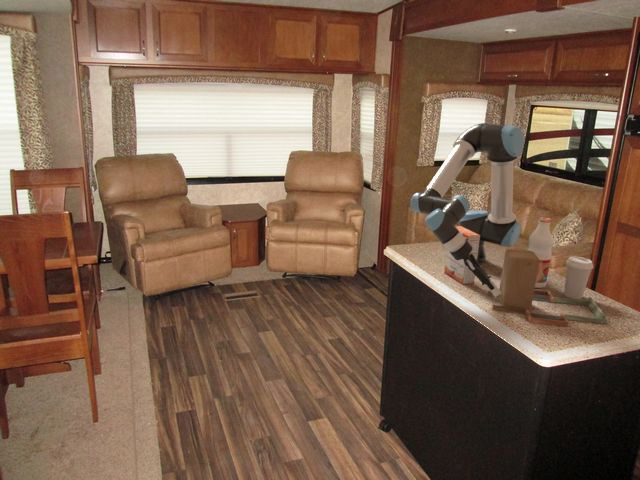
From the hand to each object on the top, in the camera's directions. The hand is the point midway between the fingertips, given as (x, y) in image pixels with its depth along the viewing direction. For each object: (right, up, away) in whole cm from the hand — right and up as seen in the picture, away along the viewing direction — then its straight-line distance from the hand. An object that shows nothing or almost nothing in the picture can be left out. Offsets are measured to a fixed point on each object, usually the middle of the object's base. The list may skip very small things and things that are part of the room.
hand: (498, 294), depth 182 cm
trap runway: (+16, -5, -1) cm, 16 cm away
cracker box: (-8, +4, +25) cm, 27 cm away
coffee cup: (+33, -2, +11) cm, 35 cm away
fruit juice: (+22, +2, +22) cm, 32 cm away
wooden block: (+6, -4, +1) cm, 7 cm away
